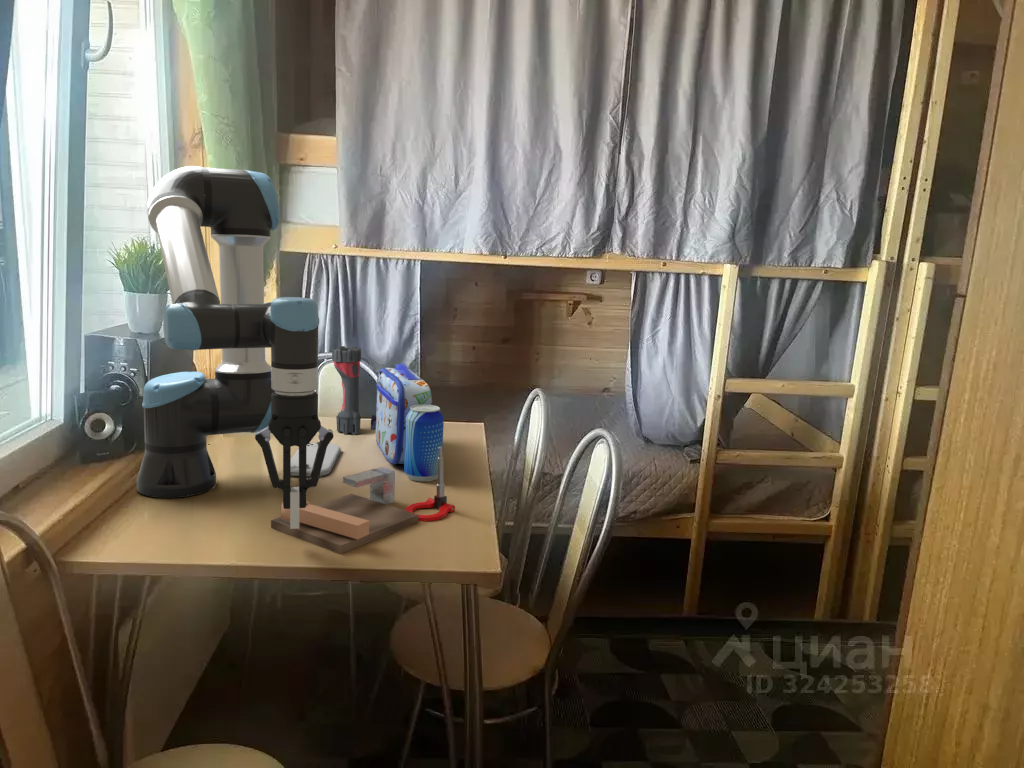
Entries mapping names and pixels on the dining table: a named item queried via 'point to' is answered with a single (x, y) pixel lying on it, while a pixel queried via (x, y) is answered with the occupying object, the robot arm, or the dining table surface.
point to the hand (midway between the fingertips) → (294, 525)
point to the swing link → (330, 520)
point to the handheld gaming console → (311, 452)
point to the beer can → (423, 442)
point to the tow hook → (435, 498)
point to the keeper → (375, 483)
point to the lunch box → (396, 408)
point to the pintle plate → (377, 513)
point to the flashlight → (348, 388)
